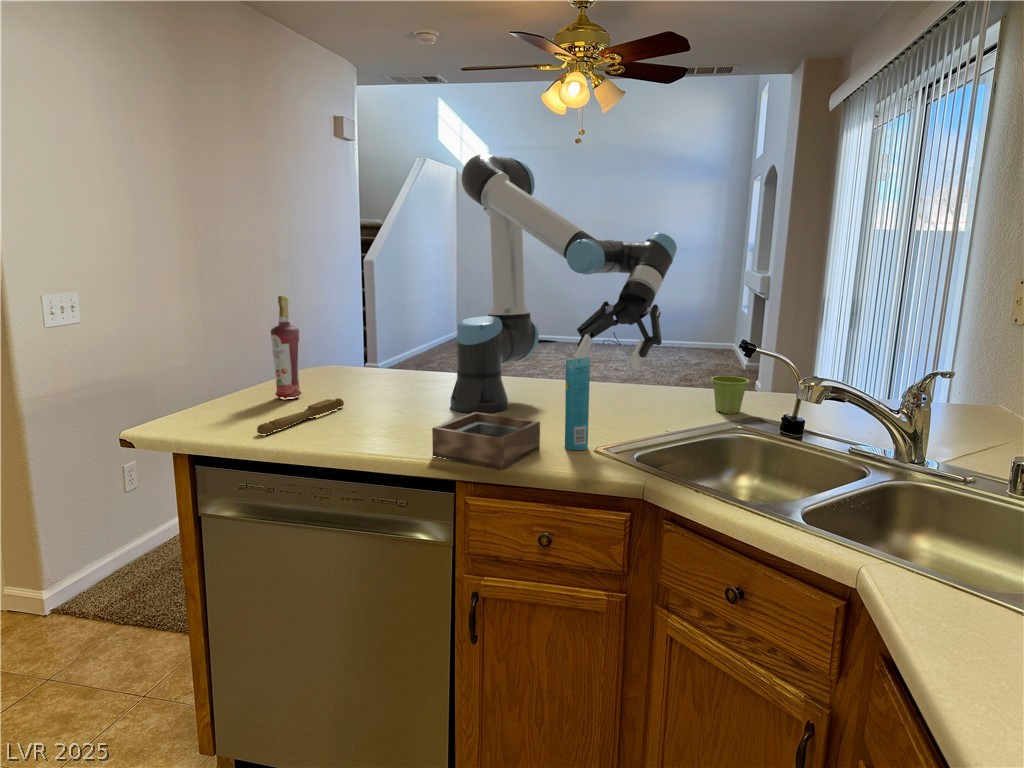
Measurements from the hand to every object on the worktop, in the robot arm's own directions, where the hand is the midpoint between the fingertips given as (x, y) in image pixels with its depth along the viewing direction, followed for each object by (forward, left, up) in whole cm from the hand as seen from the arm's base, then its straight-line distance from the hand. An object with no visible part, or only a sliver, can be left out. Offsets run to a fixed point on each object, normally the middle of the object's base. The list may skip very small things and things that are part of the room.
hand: (604, 364), depth 147 cm
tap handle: (-68, -21, -18) cm, 73 cm away
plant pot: (+18, +43, -17) cm, 50 cm away
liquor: (-90, -6, -17) cm, 91 cm away
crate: (-17, -21, -17) cm, 32 cm away
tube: (-3, -8, -17) cm, 19 cm away
